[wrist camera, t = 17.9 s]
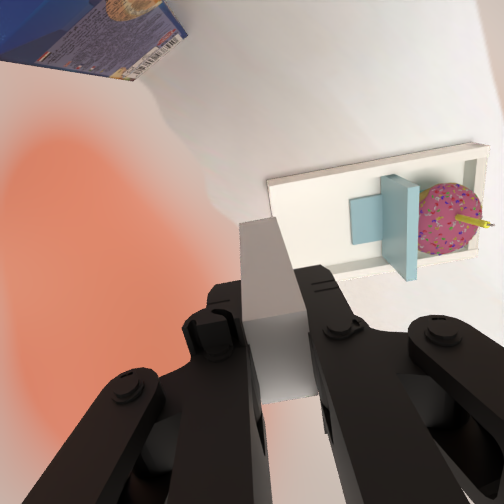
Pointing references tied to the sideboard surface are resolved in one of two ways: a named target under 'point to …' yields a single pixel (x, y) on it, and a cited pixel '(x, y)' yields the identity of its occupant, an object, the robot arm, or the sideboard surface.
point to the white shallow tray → (360, 185)
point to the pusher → (390, 223)
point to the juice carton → (88, 35)
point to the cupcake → (448, 218)
